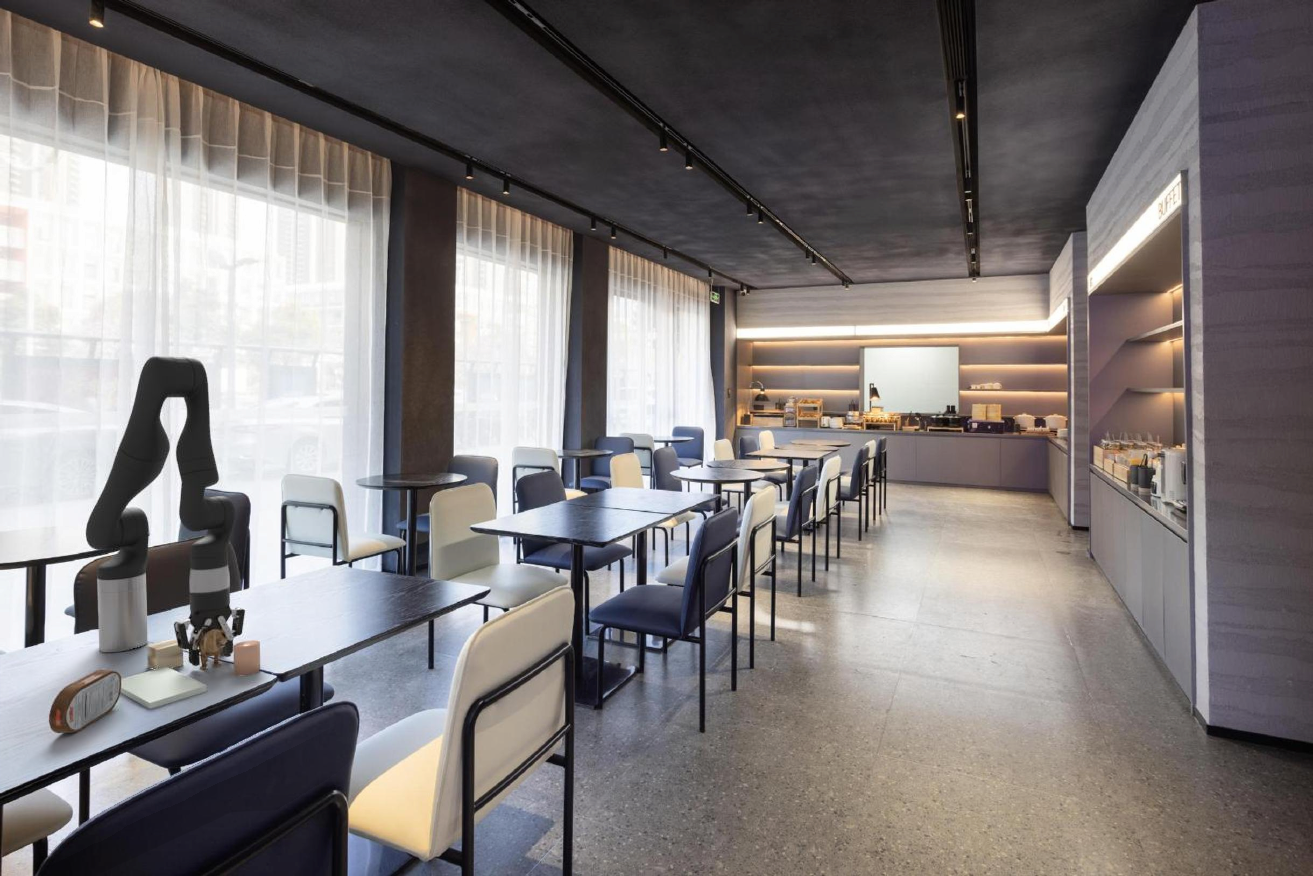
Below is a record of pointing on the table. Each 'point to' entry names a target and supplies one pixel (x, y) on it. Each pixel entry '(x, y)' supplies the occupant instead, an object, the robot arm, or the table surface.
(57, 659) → the table surface
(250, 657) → the peach rounded cylinder
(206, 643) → the lion figurine
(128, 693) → the sage board
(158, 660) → the birch block
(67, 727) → the tin
